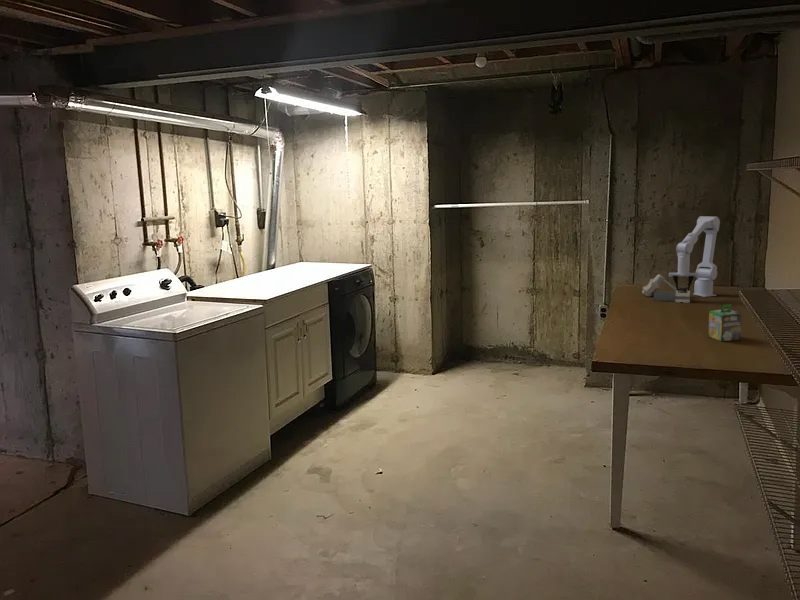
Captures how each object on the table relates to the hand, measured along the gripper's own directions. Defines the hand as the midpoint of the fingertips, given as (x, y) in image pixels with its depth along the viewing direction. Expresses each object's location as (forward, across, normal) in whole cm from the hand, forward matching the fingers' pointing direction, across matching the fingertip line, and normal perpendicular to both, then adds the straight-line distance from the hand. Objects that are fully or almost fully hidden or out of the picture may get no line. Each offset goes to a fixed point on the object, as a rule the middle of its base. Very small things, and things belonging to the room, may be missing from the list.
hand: (682, 290), depth 344 cm
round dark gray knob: (+6, 0, 0) cm, 6 cm away
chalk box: (+6, +16, -79) cm, 81 cm away
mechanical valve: (+7, -11, +15) cm, 20 cm away
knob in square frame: (+6, -6, +5) cm, 10 cm away
